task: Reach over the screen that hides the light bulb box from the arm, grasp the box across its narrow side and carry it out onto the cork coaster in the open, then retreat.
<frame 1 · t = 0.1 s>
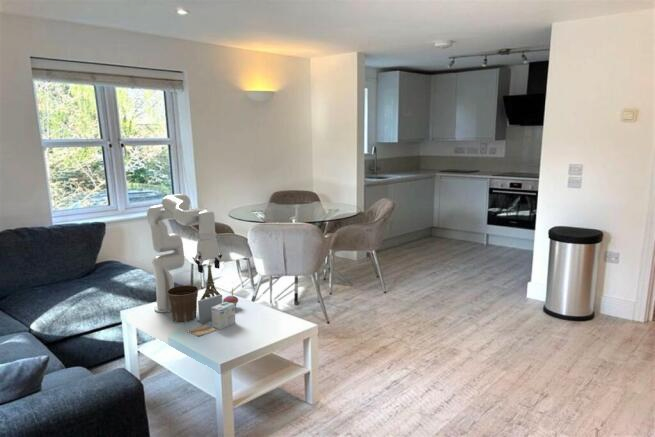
hand: (209, 270, 225), 31 cm above the table, fingers open, 9 cm apart
eiffel tower: (211, 299, 277), on the table
plant pot: (184, 319, 245), on the table
coaster: (201, 330, 229), on the table
light bulb box: (223, 325, 236), on the table
screen: (211, 319, 244), on the table
cupcake: (231, 308, 260), on the table
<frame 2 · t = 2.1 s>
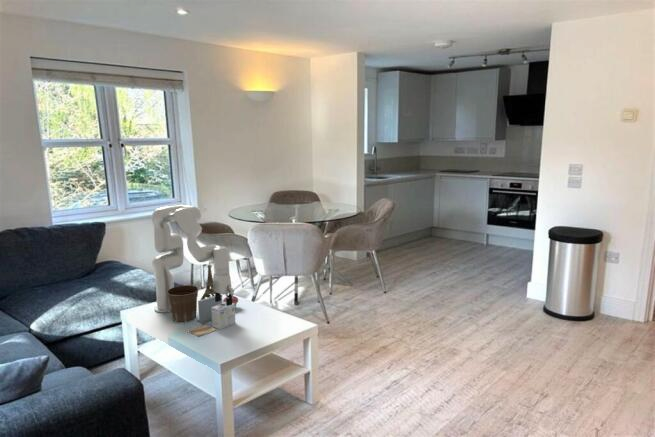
hand: (223, 303, 234), 12 cm above the table, fingers open, 9 cm apart
nothing on the table moved.
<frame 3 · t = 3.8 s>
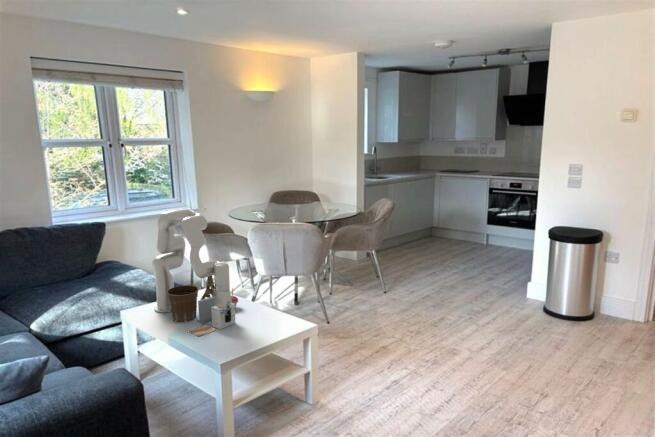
hand: (223, 319, 236), 3 cm above the table, fingers closed on light bulb box, 7 cm apart
light bulb box: (224, 325, 236), on the table, touching gripper
everything else where it was.
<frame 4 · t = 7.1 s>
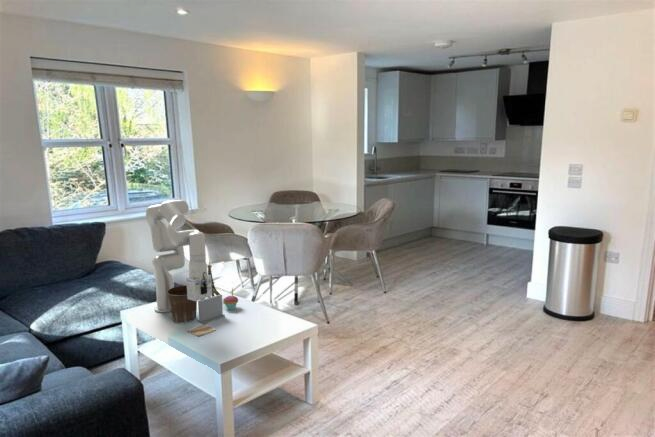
hand: (199, 291, 226), 20 cm above the table, fingers closed on light bulb box, 7 cm apart
light bulb box: (199, 297, 226), point 17 cm above the table, touching gripper
everything else where it was.
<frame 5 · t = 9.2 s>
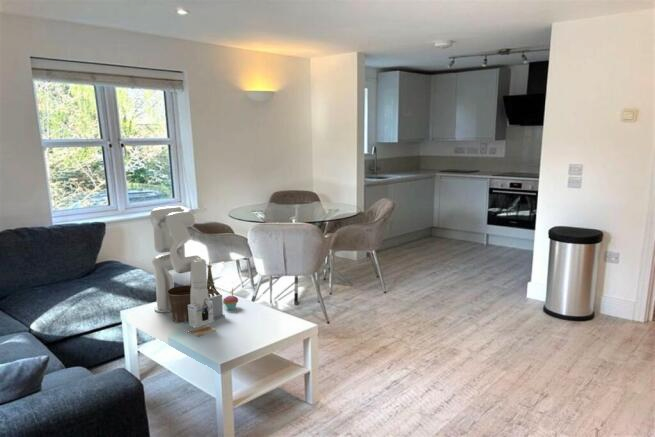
hand: (201, 317, 228), 7 cm above the table, fingers closed on light bulb box, 7 cm apart
light bulb box: (201, 323, 228), point 4 cm above the table, touching gripper
everything else where it was.
when the fingers open (5 cm above the table, at t = 10.8 s): light bulb box drops 1 cm, resting on coaster.
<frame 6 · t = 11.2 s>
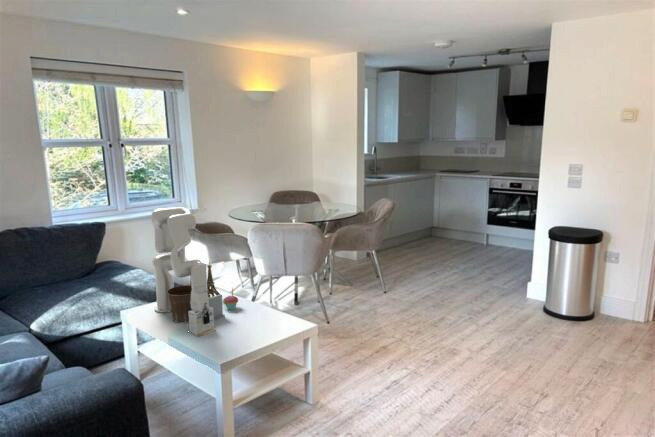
hand: (201, 320, 228), 5 cm above the table, fingers open, 9 cm apart
light bulb box: (201, 330, 229), resting on coaster
everything else where it was.
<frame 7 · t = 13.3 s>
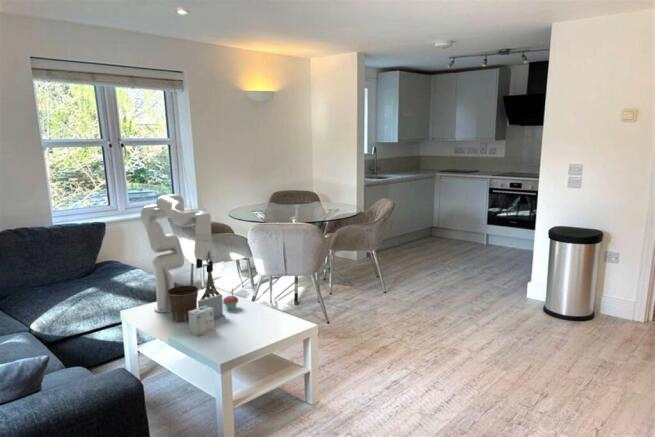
hand: (204, 269, 232), 29 cm above the table, fingers open, 9 cm apart
nothing on the table moved.
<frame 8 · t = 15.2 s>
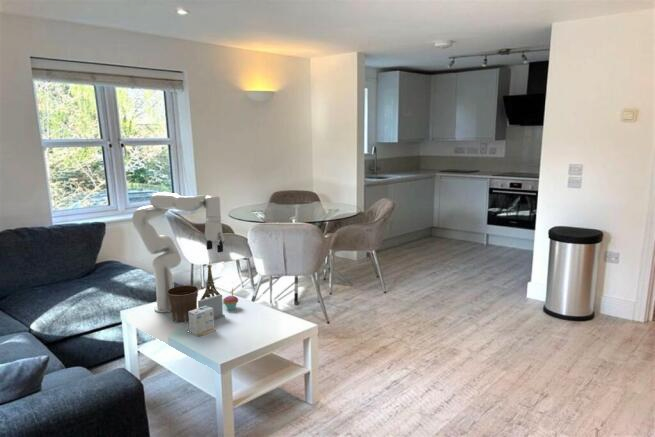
hand: (214, 250, 244), 36 cm above the table, fingers open, 9 cm apart
nothing on the table moved.
at the end: light bulb box inside the target area on the coaster (0.1 cm from its centre), point 0.4 cm above the coaster's base; light bulb box tilted 0°; the gripper is holding nothing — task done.
